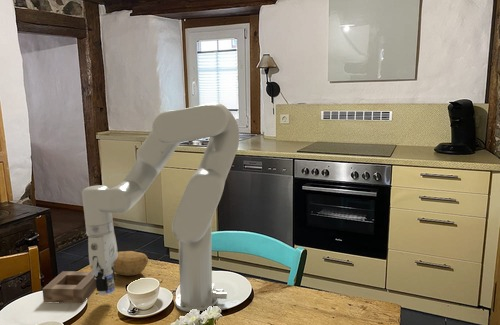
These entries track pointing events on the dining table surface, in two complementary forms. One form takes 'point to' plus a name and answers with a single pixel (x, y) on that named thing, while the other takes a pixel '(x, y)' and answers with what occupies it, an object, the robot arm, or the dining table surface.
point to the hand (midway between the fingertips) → (106, 285)
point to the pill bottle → (108, 281)
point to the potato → (130, 263)
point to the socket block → (69, 287)
